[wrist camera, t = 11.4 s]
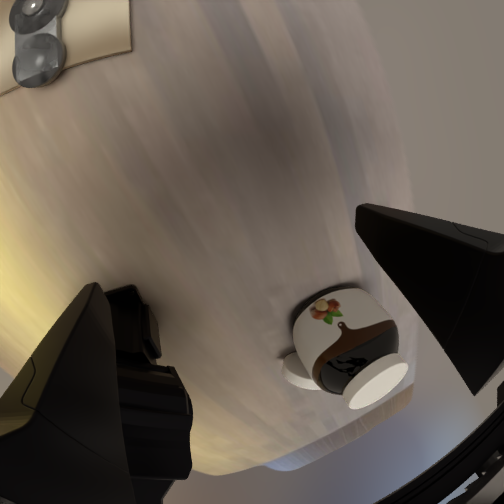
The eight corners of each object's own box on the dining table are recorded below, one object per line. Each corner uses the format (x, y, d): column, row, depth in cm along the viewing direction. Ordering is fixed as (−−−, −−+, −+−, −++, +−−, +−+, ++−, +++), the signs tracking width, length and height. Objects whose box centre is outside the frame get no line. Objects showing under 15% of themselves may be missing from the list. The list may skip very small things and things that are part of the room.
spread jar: (362, 270, 32) (429, 340, 22) (356, 333, 38) (403, 395, 29) (263, 311, 30) (313, 405, 21) (276, 368, 36) (314, 443, 27)
